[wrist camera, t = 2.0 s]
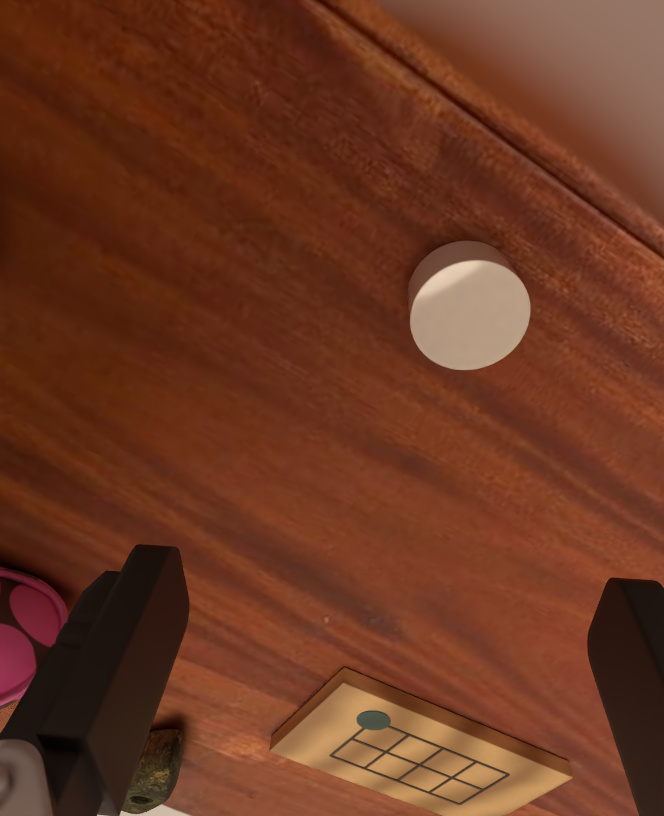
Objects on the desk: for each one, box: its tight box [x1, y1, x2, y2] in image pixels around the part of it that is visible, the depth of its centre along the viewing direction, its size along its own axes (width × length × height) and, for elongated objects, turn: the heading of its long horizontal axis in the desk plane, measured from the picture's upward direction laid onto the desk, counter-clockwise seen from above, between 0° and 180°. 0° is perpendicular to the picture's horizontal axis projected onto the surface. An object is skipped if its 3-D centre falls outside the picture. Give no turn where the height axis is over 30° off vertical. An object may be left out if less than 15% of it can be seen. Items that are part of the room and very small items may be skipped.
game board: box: [269, 667, 573, 816], centre depth 43 cm, size 20×11×1 cm, turn 60°
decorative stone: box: [122, 729, 183, 814], centre depth 44 cm, size 12×5×4 cm, turn 166°
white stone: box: [407, 241, 530, 370], centre depth 23 cm, size 5×5×3 cm
